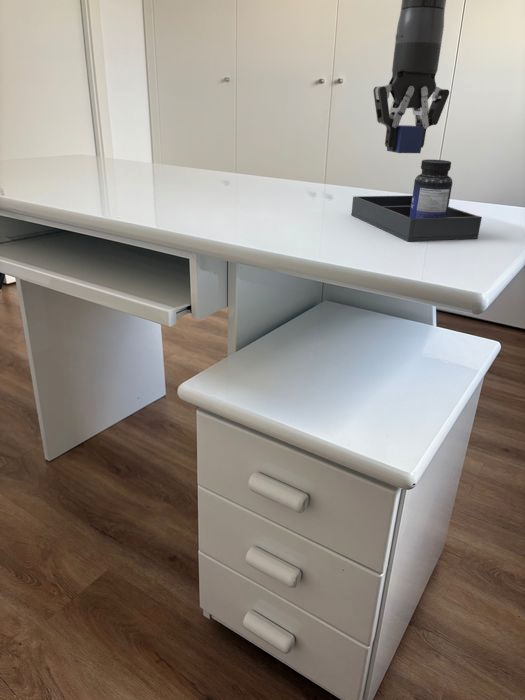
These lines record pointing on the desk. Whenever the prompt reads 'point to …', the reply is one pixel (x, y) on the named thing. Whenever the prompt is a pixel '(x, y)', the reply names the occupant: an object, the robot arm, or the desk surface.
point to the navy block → (409, 139)
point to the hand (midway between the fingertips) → (403, 150)
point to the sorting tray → (414, 219)
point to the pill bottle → (432, 190)
